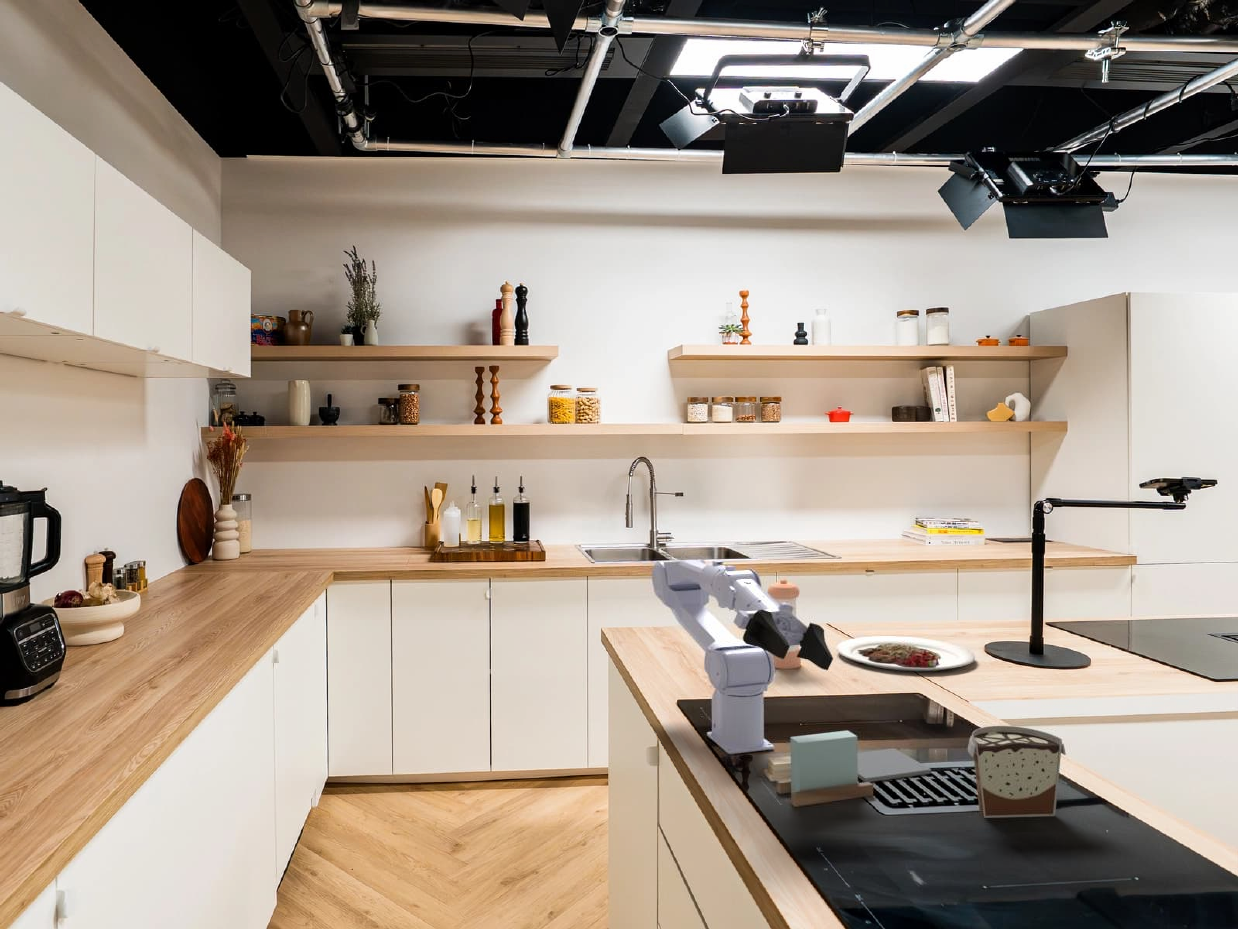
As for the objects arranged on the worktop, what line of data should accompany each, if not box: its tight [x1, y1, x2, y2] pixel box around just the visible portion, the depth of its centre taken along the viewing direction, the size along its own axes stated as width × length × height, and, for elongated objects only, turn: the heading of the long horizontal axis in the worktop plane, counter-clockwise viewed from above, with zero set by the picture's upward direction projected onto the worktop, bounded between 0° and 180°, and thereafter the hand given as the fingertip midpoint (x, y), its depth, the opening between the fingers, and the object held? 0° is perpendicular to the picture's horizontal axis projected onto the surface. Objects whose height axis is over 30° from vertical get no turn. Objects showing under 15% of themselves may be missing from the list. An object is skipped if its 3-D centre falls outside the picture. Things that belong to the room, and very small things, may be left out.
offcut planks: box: [763, 755, 791, 782], centre depth 120 cm, size 3×10×3 cm, turn 99°
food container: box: [967, 725, 1067, 819], centre depth 108 cm, size 12×6×10 cm, turn 92°
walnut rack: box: [776, 779, 874, 807], centre depth 113 cm, size 5×12×2 cm, turn 106°
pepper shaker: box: [767, 578, 802, 670], centre depth 182 cm, size 7×7×19 cm
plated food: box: [836, 635, 976, 672], centre depth 187 cm, size 30×30×3 cm
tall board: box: [790, 730, 859, 794], centre depth 113 cm, size 2×9×8 cm, turn 106°
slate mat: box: [858, 748, 932, 783], centre depth 122 cm, size 9×11×1 cm
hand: (807, 658), depth 112 cm, fingers open, 7 cm apart
